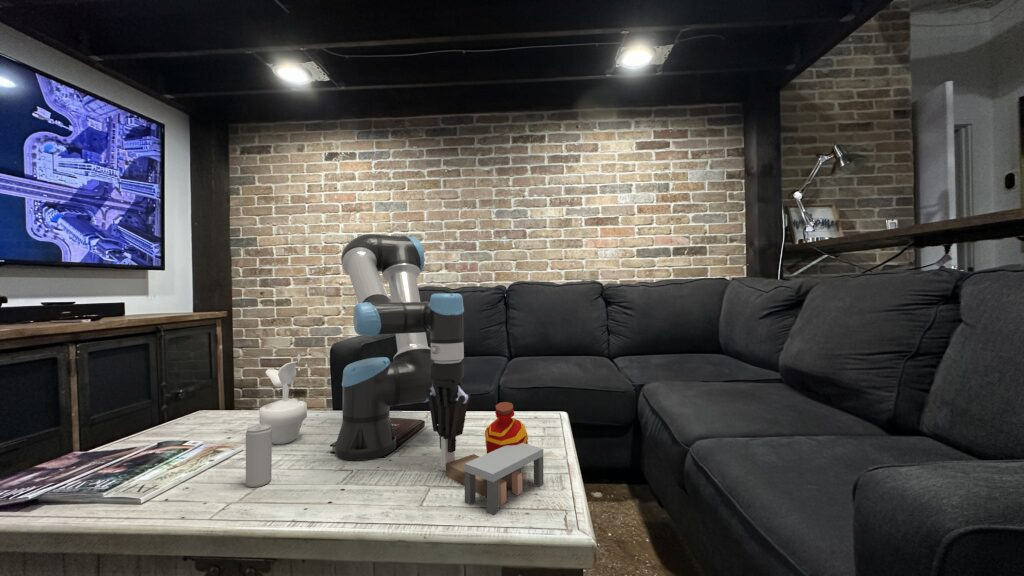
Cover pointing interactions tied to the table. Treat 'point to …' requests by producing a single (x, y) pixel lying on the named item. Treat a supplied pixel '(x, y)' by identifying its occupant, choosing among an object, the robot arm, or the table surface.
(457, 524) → the table surface
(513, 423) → the potion bottle
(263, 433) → the beverage can
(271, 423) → the potted plant
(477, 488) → the panel
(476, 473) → the shelf
